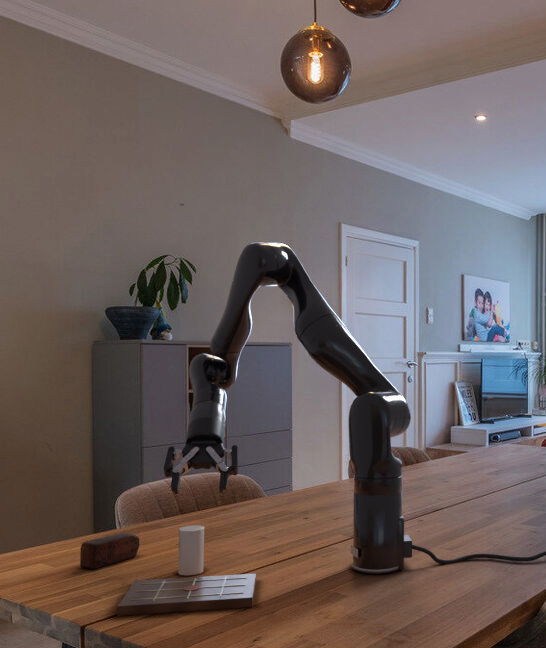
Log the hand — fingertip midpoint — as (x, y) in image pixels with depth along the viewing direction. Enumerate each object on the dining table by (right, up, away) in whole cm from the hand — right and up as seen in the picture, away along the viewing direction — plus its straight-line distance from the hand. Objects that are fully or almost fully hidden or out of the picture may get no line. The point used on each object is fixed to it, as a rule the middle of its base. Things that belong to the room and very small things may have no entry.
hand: (198, 491), depth 144 cm
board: (+7, -12, -24) cm, 28 cm away
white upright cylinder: (+2, -13, -10) cm, 16 cm away
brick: (-16, -13, -4) cm, 21 cm away
